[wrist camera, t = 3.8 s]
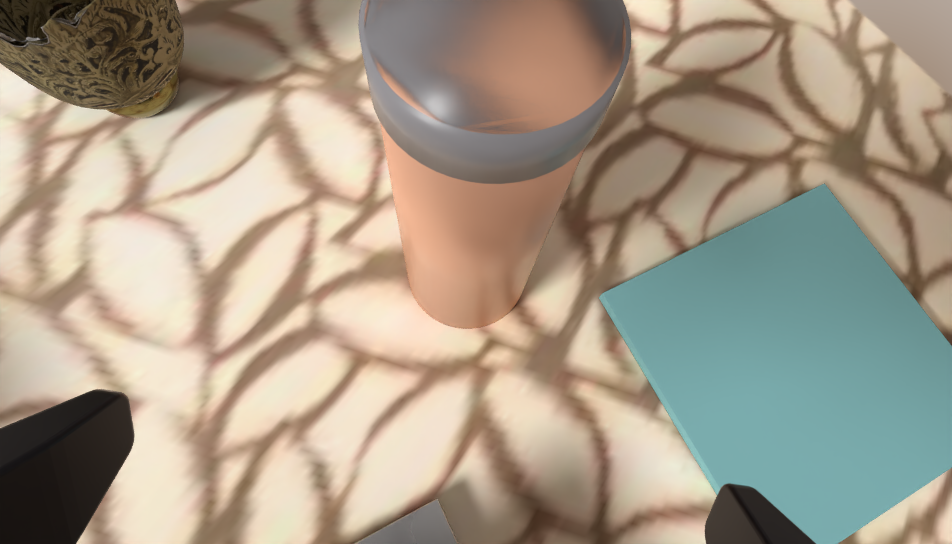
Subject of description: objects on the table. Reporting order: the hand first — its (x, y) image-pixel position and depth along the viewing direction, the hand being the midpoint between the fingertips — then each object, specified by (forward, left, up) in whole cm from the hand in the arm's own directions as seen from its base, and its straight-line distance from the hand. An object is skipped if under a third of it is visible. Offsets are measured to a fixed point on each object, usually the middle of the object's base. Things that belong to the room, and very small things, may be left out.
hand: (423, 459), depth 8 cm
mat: (-3, -15, -13) cm, 20 cm away
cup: (+21, +5, -14) cm, 26 cm away
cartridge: (+7, -5, -13) cm, 16 cm away
